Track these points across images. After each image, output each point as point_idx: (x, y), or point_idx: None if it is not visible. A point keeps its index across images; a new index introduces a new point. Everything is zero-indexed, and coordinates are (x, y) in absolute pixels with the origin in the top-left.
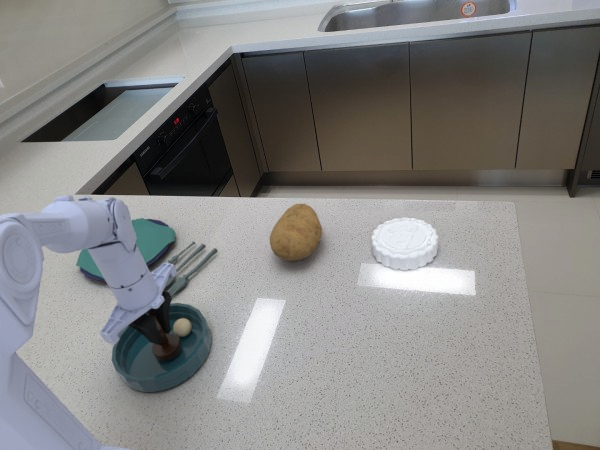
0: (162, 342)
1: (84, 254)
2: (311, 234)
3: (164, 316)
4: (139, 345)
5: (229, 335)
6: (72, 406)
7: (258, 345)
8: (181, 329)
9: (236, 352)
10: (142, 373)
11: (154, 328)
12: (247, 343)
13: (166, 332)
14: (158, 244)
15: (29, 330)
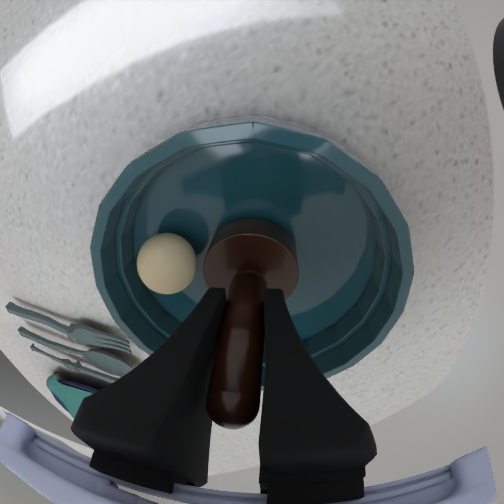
0: (261, 287)
1: None
2: None
3: (189, 361)
4: None
5: (119, 112)
6: (417, 347)
7: (120, 8)
8: (176, 259)
9: (164, 45)
10: (340, 280)
11: (283, 367)
12: (123, 40)
13: (224, 298)
14: (75, 392)
15: None
